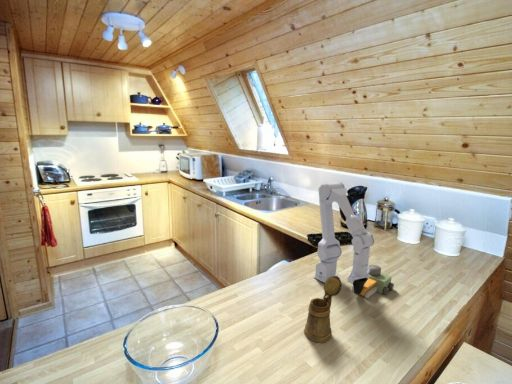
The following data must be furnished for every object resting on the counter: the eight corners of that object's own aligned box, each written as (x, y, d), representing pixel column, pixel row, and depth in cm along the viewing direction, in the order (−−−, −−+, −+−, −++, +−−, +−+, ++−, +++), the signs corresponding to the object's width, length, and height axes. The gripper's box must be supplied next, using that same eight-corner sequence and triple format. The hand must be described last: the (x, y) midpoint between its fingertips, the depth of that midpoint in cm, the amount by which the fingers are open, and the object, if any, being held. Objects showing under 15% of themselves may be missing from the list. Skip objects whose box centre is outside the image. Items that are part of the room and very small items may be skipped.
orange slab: (366, 297, 118) (367, 287, 117) (352, 290, 122) (353, 281, 121) (375, 290, 123) (376, 281, 122) (362, 284, 127) (363, 275, 126)
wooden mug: (345, 329, 99) (349, 280, 95) (319, 347, 91) (323, 295, 87) (323, 316, 106) (327, 270, 102) (298, 331, 97) (301, 282, 93)
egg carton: (302, 240, 179) (303, 234, 178) (340, 233, 192) (341, 228, 191) (320, 250, 164) (321, 244, 163) (360, 243, 176) (361, 237, 176)
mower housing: (376, 302, 115) (378, 282, 113) (343, 287, 125) (345, 269, 123) (393, 288, 125) (395, 270, 123) (362, 276, 135) (364, 259, 133)
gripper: (360, 271, 108) (357, 304, 111) (378, 260, 117) (375, 290, 120) (343, 265, 113) (341, 296, 116) (362, 254, 122) (359, 284, 125)
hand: (357, 293), depth 118 cm, fingers closed
